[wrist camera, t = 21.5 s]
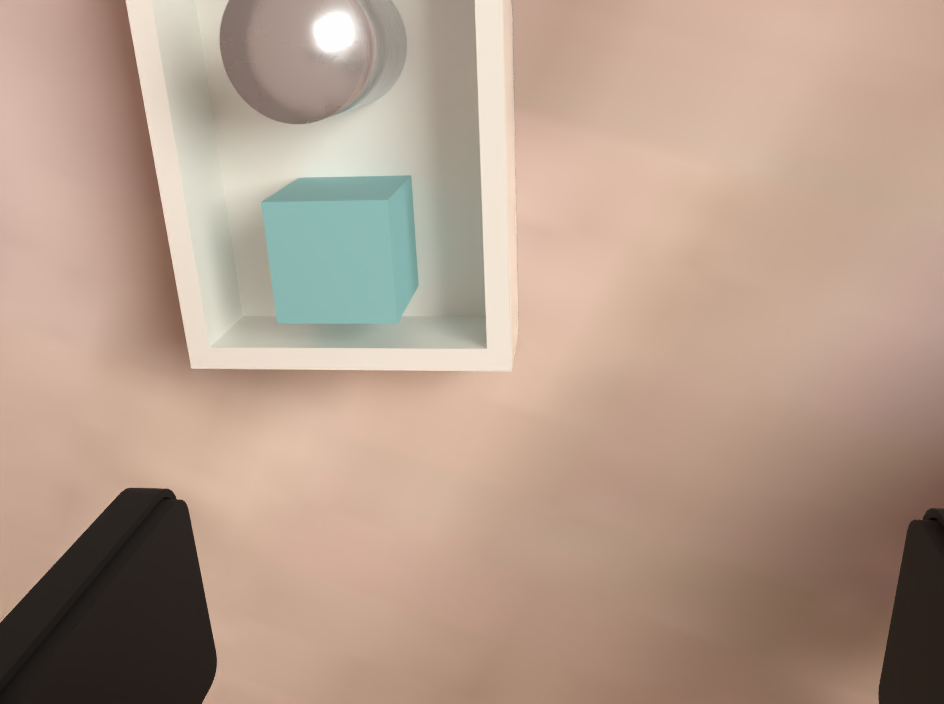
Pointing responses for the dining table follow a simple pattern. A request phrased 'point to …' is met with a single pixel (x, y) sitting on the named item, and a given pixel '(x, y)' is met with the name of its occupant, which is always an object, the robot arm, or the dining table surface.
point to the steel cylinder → (311, 55)
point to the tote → (340, 155)
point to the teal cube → (342, 249)
